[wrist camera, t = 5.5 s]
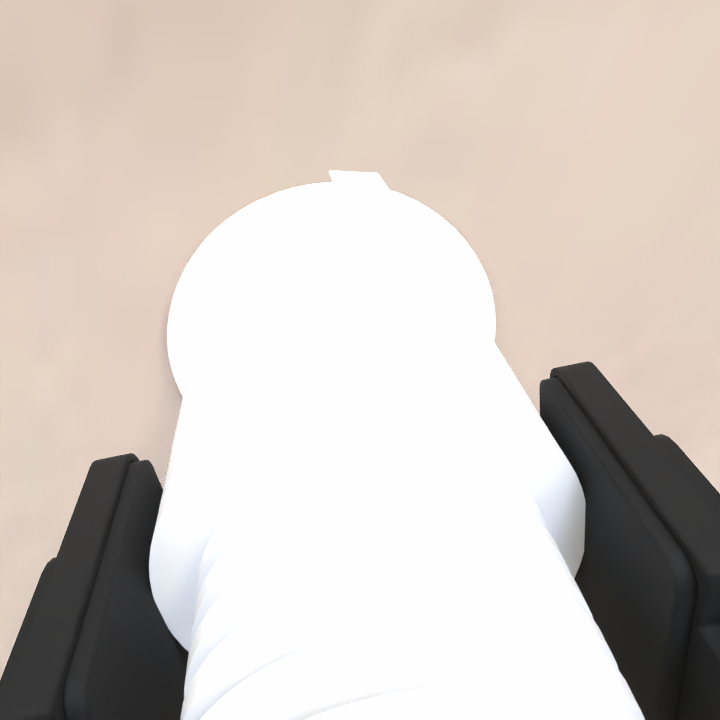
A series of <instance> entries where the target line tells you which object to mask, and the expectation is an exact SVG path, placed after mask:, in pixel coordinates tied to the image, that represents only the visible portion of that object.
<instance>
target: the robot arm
mask: <svg viewBox="0 0 720 720" xmlns="http://www.w3.org/2000/svg"><path fill="white" fill-rule="evenodd" d="M540 417H541V418H542V420H543V421H544V423H545V425H546V426H547V428H548V429H549V431H550V433H551V434H552V436H553V437H554V439H555V441H556V442H557V444H558V445H559V447H560V448H561V450H562V451H563V453H564V455H565V456H566V458H567V459H568V461H569V463H570V464H571V466H572V468H573V469H574V471H575V473H576V475H577V477H578V479H579V482H580V484H581V487H582V489H583V493H584V497H585V501H586V509H585V541H584V554H583V557H582V561H581V564H580V566H579V569H578V571H577V573H576V576H575V578H574V580H575V581H576V583H577V585H578V587H579V589H580V591H581V593H582V595H583V597H584V599H585V601H586V603H587V605H588V607H589V609H590V612H591V614H592V616H593V620H594V621H595V623H596V624H597V625H598V627H599V629H600V631H601V633H602V635H603V637H604V639H605V641H606V643H607V645H608V647H609V649H610V650H611V652H612V655H613V657H614V659H615V661H616V663H617V666H618V669H619V672H620V673H621V674H622V676H623V677H624V679H625V680H626V682H627V684H628V686H629V688H630V690H631V692H632V694H633V696H634V698H635V700H636V702H637V704H638V706H639V708H640V710H641V712H642V714H643V716H644V718H645V720H720V494H719V492H718V491H717V490H716V489H715V488H714V487H713V486H712V484H711V483H710V482H709V481H708V480H707V479H706V478H705V476H704V475H703V474H702V473H701V472H700V471H699V469H698V468H697V467H696V466H695V465H694V464H693V463H692V461H691V460H690V459H689V458H688V457H687V456H686V455H685V453H684V452H683V451H682V450H681V449H680V448H679V446H678V445H677V444H676V443H675V442H674V441H673V440H671V439H670V438H669V437H668V436H665V435H662V434H660V435H655V436H653V435H652V433H651V432H650V431H649V430H648V429H647V427H646V426H645V425H644V424H643V423H642V421H641V420H640V419H639V418H638V417H637V415H636V414H635V413H634V412H633V411H632V409H631V408H630V407H629V406H628V405H627V403H626V402H625V401H624V400H623V399H622V397H621V396H620V395H619V394H618V393H617V391H616V390H615V389H614V388H613V387H612V385H611V384H610V383H609V382H608V381H607V379H606V378H605V377H604V376H603V375H602V373H601V372H600V371H599V370H598V369H597V367H596V366H595V365H594V364H593V363H591V362H583V363H578V364H573V365H568V366H563V367H558V368H554V369H552V370H551V373H550V379H546V380H542V381H541V383H540ZM162 493H163V489H162V487H161V484H160V482H159V480H158V477H157V475H156V473H155V470H154V468H153V466H152V464H151V463H150V461H149V460H144V461H139V459H138V458H137V457H136V455H135V454H132V453H130V454H125V455H120V456H115V457H110V458H105V459H100V460H96V461H94V462H93V463H92V465H91V466H90V469H89V472H88V474H87V477H86V480H85V482H84V485H83V488H82V490H81V493H80V496H79V498H78V501H77V504H76V507H75V509H74V512H73V515H72V517H71V520H70V523H69V525H68V528H67V531H66V533H65V536H64V539H63V541H62V544H61V547H60V550H59V552H58V555H57V557H56V558H53V559H52V560H51V561H49V562H48V563H47V565H46V566H45V568H44V570H43V572H42V574H41V577H40V579H39V582H38V585H37V587H36V590H35V592H34V595H33V597H32V600H31V603H30V605H29V608H28V610H27V613H26V616H25V618H24V621H23V623H22V626H21V628H20V631H19V634H18V636H17V639H16V641H15V644H14V647H13V649H12V652H11V654H10V657H9V659H8V662H7V665H6V667H5V670H4V672H3V675H2V678H1V680H0V720H180V718H181V711H182V705H183V701H184V686H185V678H186V669H187V662H188V655H189V652H188V651H187V650H186V649H185V648H184V647H183V646H182V645H181V644H180V643H179V642H178V640H177V639H176V638H175V637H174V636H173V634H172V633H171V632H170V630H169V629H168V627H167V625H166V623H165V621H164V619H163V617H162V615H161V613H160V611H159V609H158V607H157V605H156V603H155V600H154V597H153V594H152V589H151V584H150V576H149V557H150V547H151V543H152V538H153V534H154V530H155V525H156V521H157V517H158V512H159V507H160V502H161V498H162Z"/></svg>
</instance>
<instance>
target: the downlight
mask: <svg viewBox="0 0 720 720" xmlns="http://www.w3.org/2000/svg"><path fill="white" fill-rule="evenodd" d="M329 176H330V179H331V181H332V182H327V183H317V184H309V185H304V186H299V187H294V188H290V189H287V190H283V191H280V192H277V193H274V194H272V195H269V196H267V197H264V198H262V199H260V200H257V201H256V202H254V203H252V204H250V205H248V206H246V207H245V208H243V209H241V210H240V211H238V212H237V213H235V214H234V215H232V216H231V217H229V218H228V219H227V220H226V221H224V222H223V223H222V224H221V225H220V226H218V227H217V228H216V229H215V230H214V231H213V232H212V233H211V234H210V235H209V236H208V237H207V238H206V239H205V240H204V241H203V243H202V244H201V245H200V246H199V248H198V249H197V250H196V252H195V253H194V254H193V256H192V257H191V259H190V261H189V262H188V264H187V265H186V267H185V269H184V271H183V273H182V275H181V277H180V279H179V282H178V284H177V287H176V290H175V293H174V296H173V299H172V302H171V307H170V312H169V316H168V327H167V347H168V354H169V361H170V365H171V369H172V373H173V376H174V379H175V381H176V384H177V386H178V389H179V391H180V393H181V395H182V397H183V399H182V404H181V409H180V413H179V418H178V423H177V427H176V432H175V437H174V441H173V446H172V451H171V455H170V460H169V465H168V469H167V474H166V479H165V483H164V488H163V493H162V498H161V502H160V507H159V512H158V517H157V521H156V525H155V530H154V534H153V538H152V543H151V547H150V557H149V576H150V584H151V589H152V594H153V597H154V600H155V603H156V605H157V607H158V609H159V611H160V613H161V615H162V617H163V619H164V621H165V623H166V625H167V627H168V629H169V630H170V632H171V633H172V634H173V636H174V637H175V638H176V639H177V640H178V642H179V643H180V644H181V645H182V646H183V647H184V648H185V649H186V650H187V651H188V652H189V655H188V662H187V669H186V678H185V686H184V701H183V705H182V711H181V718H180V720H645V718H644V716H643V714H642V712H641V710H640V708H639V706H638V704H637V702H636V700H635V698H634V696H633V694H632V692H631V690H630V688H629V686H628V684H627V682H626V680H625V679H624V677H623V676H622V674H621V673H620V672H619V669H618V666H617V663H616V661H615V659H614V657H613V655H612V652H611V650H610V649H609V647H608V645H607V643H606V641H605V639H604V637H603V635H602V633H601V631H600V629H599V627H598V625H597V624H596V623H595V621H594V620H593V616H592V614H591V612H590V609H589V607H588V605H587V603H586V601H585V599H584V597H583V595H582V593H581V591H580V589H579V587H578V585H577V583H576V581H575V580H574V578H575V576H576V573H577V571H578V569H579V566H580V564H581V561H582V557H583V554H584V541H585V509H586V501H585V497H584V493H583V489H582V487H581V484H580V482H579V479H578V477H577V475H576V473H575V471H574V469H573V468H572V466H571V464H570V463H569V461H568V459H567V458H566V456H565V455H564V453H563V451H562V450H561V448H560V447H559V445H558V444H557V442H556V441H555V439H554V437H553V436H552V434H551V433H550V431H549V429H548V428H547V426H546V425H545V423H544V421H543V420H542V418H541V417H540V415H539V413H538V412H537V410H536V408H535V407H534V405H533V404H532V402H531V400H530V399H529V397H528V396H527V394H526V392H525V391H524V389H523V388H522V386H521V384H520V383H519V381H518V379H517V378H516V376H515V375H514V373H513V371H512V370H511V368H510V367H509V365H508V363H507V362H506V360H505V359H504V357H503V355H502V354H501V352H500V350H499V349H498V347H497V346H496V344H495V342H494V341H495V329H496V318H495V306H494V300H493V295H492V291H491V288H490V284H489V281H488V279H487V276H486V274H485V271H484V269H483V267H482V265H481V263H480V261H479V260H478V258H477V256H476V254H475V253H474V252H473V250H472V249H471V247H470V246H469V245H468V243H467V242H466V241H465V239H464V238H463V237H462V236H461V235H460V234H459V233H458V231H457V230H456V229H455V228H454V227H453V226H452V225H451V224H449V223H448V222H447V221H446V220H445V219H444V218H443V217H441V216H440V215H439V214H437V213H436V212H434V211H433V210H431V209H430V208H429V207H427V206H425V205H423V204H421V203H420V202H418V201H416V200H414V199H412V198H410V197H407V196H405V195H403V194H400V193H398V192H394V191H391V190H389V188H388V187H387V186H386V184H385V183H384V181H383V180H382V178H381V177H380V175H379V174H378V173H370V172H350V171H330V170H329Z"/></svg>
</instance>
